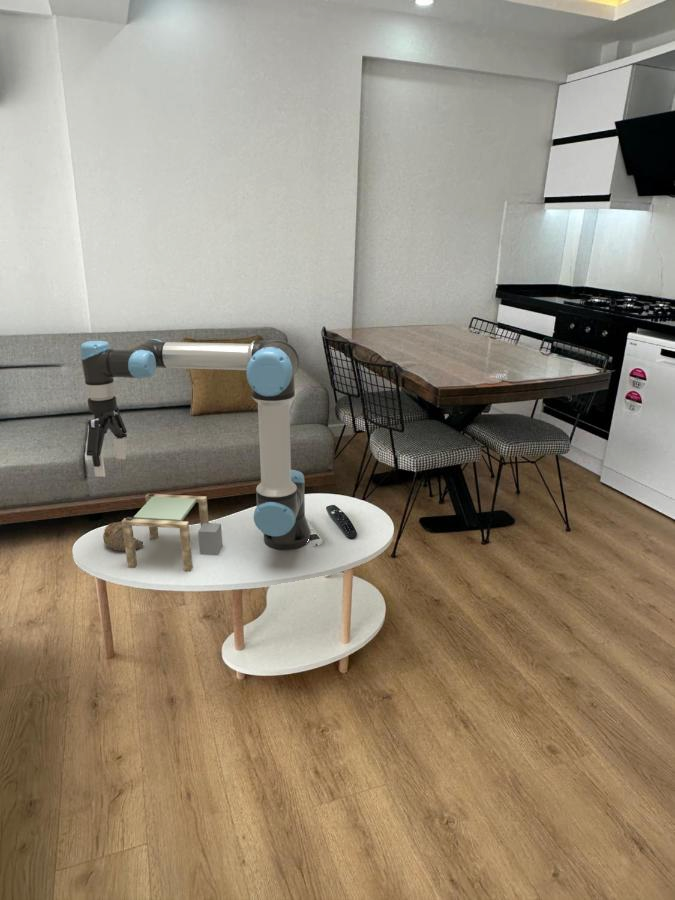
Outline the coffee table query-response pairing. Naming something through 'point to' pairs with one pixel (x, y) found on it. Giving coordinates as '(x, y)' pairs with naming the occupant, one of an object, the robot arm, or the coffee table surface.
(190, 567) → the frame
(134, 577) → the coffee table surface
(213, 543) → the grey rectangular block
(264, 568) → the coffee table surface
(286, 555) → the coffee table surface
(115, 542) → the seashell
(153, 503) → the trapdoor
